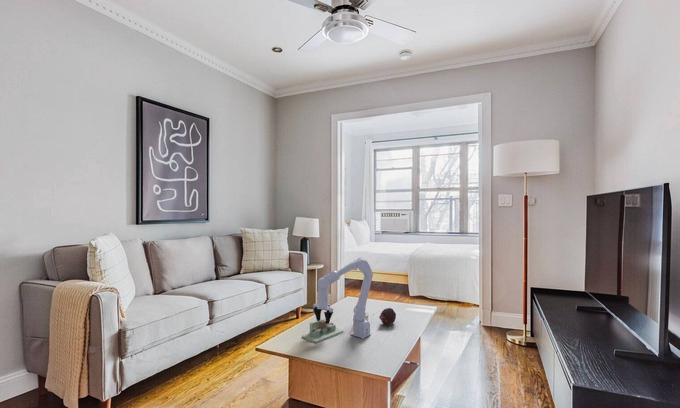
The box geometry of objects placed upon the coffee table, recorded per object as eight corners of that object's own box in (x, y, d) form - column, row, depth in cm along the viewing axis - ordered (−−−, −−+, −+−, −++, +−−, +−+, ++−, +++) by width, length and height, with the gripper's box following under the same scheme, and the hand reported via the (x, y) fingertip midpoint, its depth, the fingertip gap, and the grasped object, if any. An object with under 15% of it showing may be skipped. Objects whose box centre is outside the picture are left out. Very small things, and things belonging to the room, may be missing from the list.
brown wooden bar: (335, 325, 210) (335, 318, 209) (315, 332, 198) (315, 325, 198) (329, 323, 213) (329, 317, 212) (309, 330, 201) (309, 323, 201)
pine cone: (385, 318, 234) (385, 303, 234) (400, 321, 229) (400, 305, 229) (375, 327, 218) (376, 310, 218) (391, 329, 213) (391, 313, 213)
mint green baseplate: (343, 332, 209) (343, 320, 209) (316, 343, 193) (316, 330, 193) (329, 327, 217) (329, 316, 217) (301, 337, 201) (301, 325, 201)
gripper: (309, 297, 207) (309, 320, 207) (326, 302, 197) (326, 326, 197) (318, 295, 212) (318, 318, 213) (335, 300, 203) (335, 323, 203)
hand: (323, 322), depth 205 cm, fingers open, 7 cm apart
